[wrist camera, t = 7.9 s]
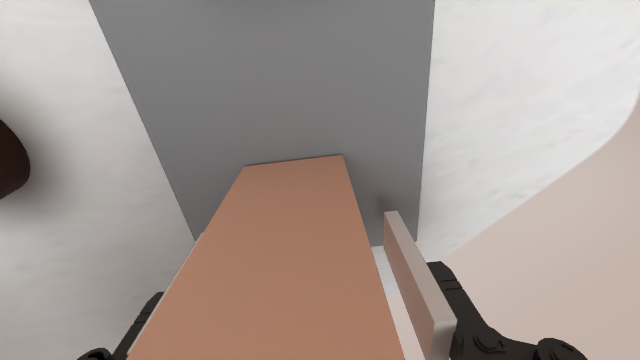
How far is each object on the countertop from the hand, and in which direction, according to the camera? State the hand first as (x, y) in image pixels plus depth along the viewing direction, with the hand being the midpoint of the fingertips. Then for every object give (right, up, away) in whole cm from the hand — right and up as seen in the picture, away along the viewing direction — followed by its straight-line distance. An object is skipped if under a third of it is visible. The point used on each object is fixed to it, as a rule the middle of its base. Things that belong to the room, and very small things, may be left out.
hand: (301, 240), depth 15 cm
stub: (0, +2, +3) cm, 3 cm away
